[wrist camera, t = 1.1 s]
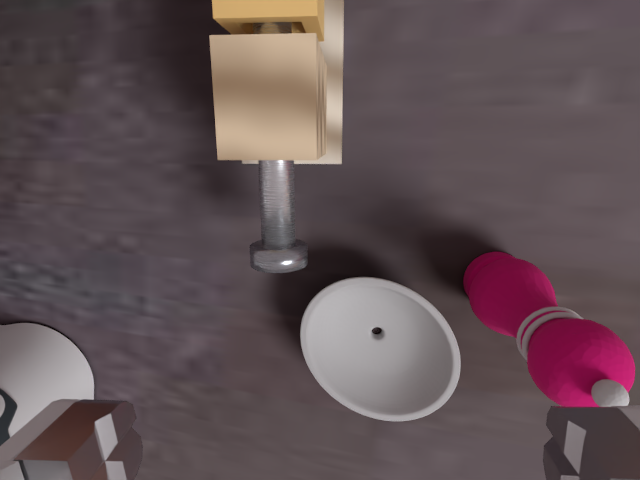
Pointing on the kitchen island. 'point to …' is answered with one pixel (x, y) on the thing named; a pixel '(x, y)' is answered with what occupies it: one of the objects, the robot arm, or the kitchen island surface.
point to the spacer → (270, 15)
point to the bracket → (280, 94)
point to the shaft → (277, 203)
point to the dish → (380, 349)
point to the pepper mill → (550, 334)
